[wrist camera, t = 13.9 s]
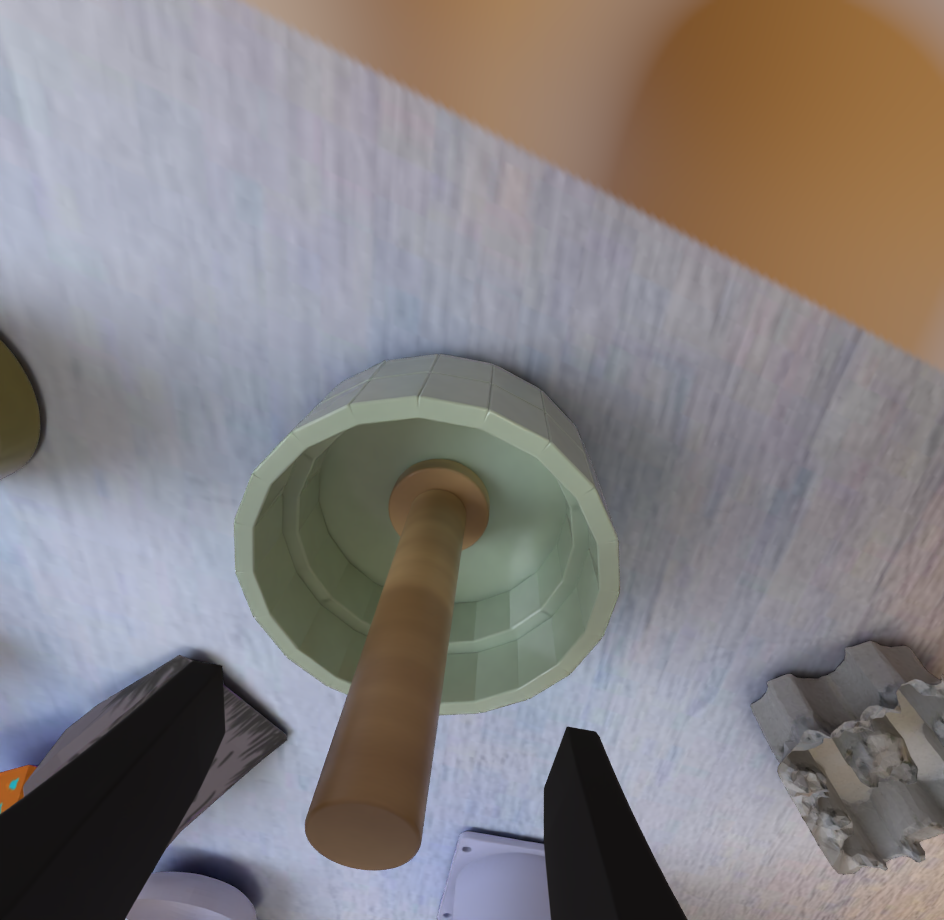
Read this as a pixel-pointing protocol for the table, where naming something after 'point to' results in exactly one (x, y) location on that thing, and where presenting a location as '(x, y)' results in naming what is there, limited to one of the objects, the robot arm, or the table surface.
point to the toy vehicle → (234, 758)
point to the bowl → (375, 540)
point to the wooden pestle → (399, 677)
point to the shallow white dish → (190, 899)
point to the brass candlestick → (16, 415)
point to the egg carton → (862, 754)
